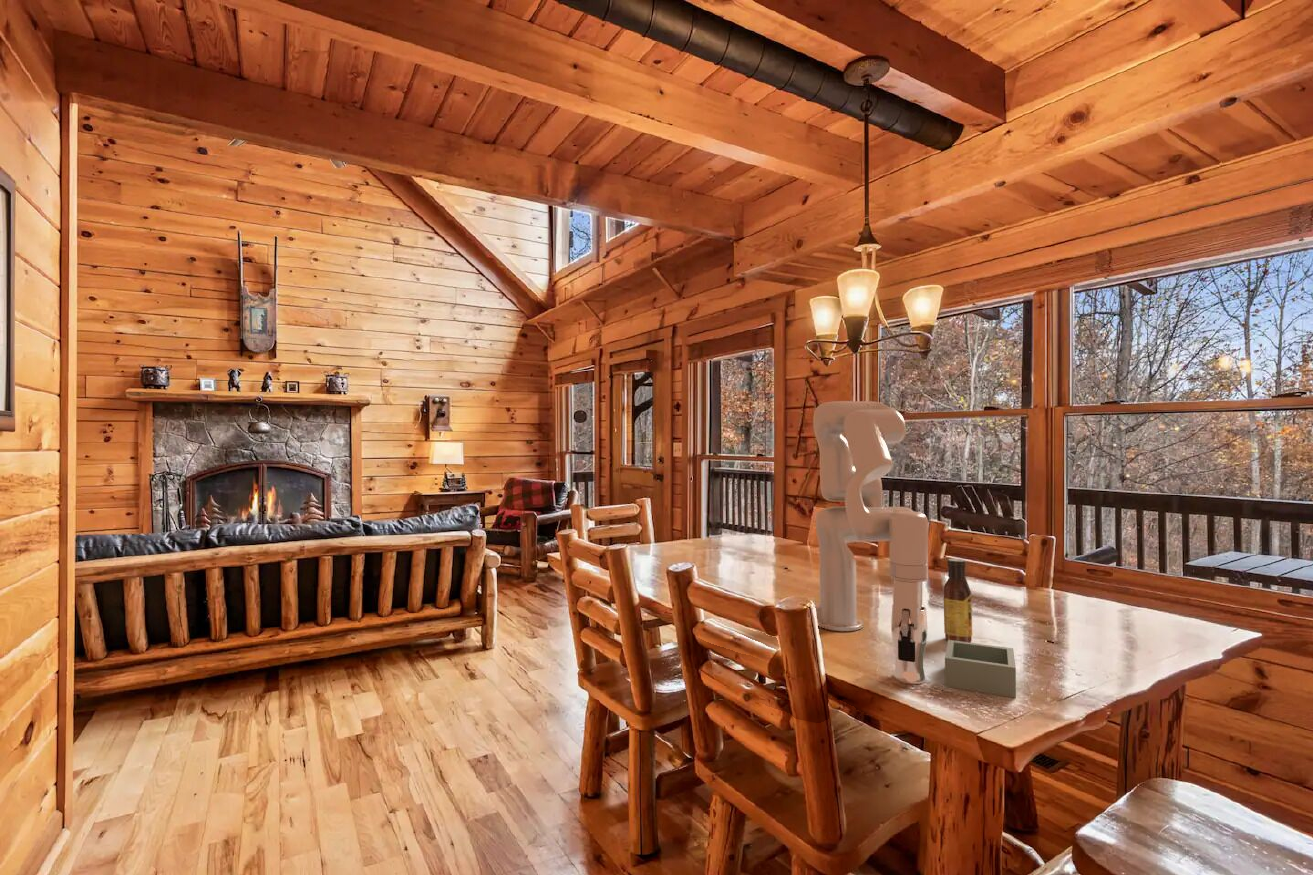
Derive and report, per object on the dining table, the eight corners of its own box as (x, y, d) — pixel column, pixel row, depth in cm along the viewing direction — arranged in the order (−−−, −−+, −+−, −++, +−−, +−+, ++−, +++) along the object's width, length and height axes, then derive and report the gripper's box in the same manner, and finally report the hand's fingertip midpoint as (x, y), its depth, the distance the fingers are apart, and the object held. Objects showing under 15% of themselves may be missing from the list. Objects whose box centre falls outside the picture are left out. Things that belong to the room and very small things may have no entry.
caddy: (945, 686, 126) (944, 657, 126) (948, 666, 137) (948, 639, 137) (1015, 697, 120) (1015, 667, 120) (1013, 675, 131) (1013, 648, 131)
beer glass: (885, 672, 133) (885, 602, 133) (917, 671, 134) (916, 601, 134) (901, 685, 126) (900, 611, 126) (934, 684, 127) (933, 610, 127)
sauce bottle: (975, 645, 150) (975, 563, 150) (947, 644, 151) (947, 562, 151) (967, 637, 156) (967, 557, 156) (941, 635, 158) (940, 557, 158)
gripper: (894, 562, 139) (895, 638, 139) (883, 577, 124) (884, 663, 124) (931, 565, 136) (932, 643, 136) (924, 581, 121) (925, 670, 121)
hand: (909, 653), depth 130 cm, fingers open, 9 cm apart
